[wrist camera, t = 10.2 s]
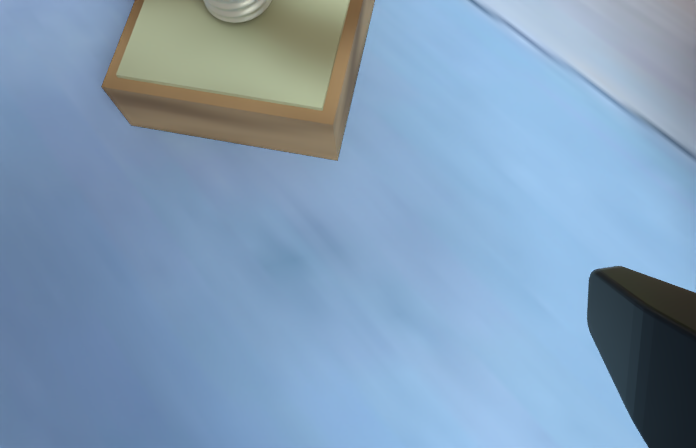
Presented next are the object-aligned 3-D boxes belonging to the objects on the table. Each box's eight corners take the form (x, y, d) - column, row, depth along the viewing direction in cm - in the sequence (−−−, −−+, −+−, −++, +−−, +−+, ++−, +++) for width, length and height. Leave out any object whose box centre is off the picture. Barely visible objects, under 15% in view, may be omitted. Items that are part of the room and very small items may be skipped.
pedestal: (337, 160, 25) (332, 122, 22) (131, 125, 26) (99, 83, 23) (378, -15, 28) (378, -71, 25) (191, -41, 29) (170, -98, 26)
